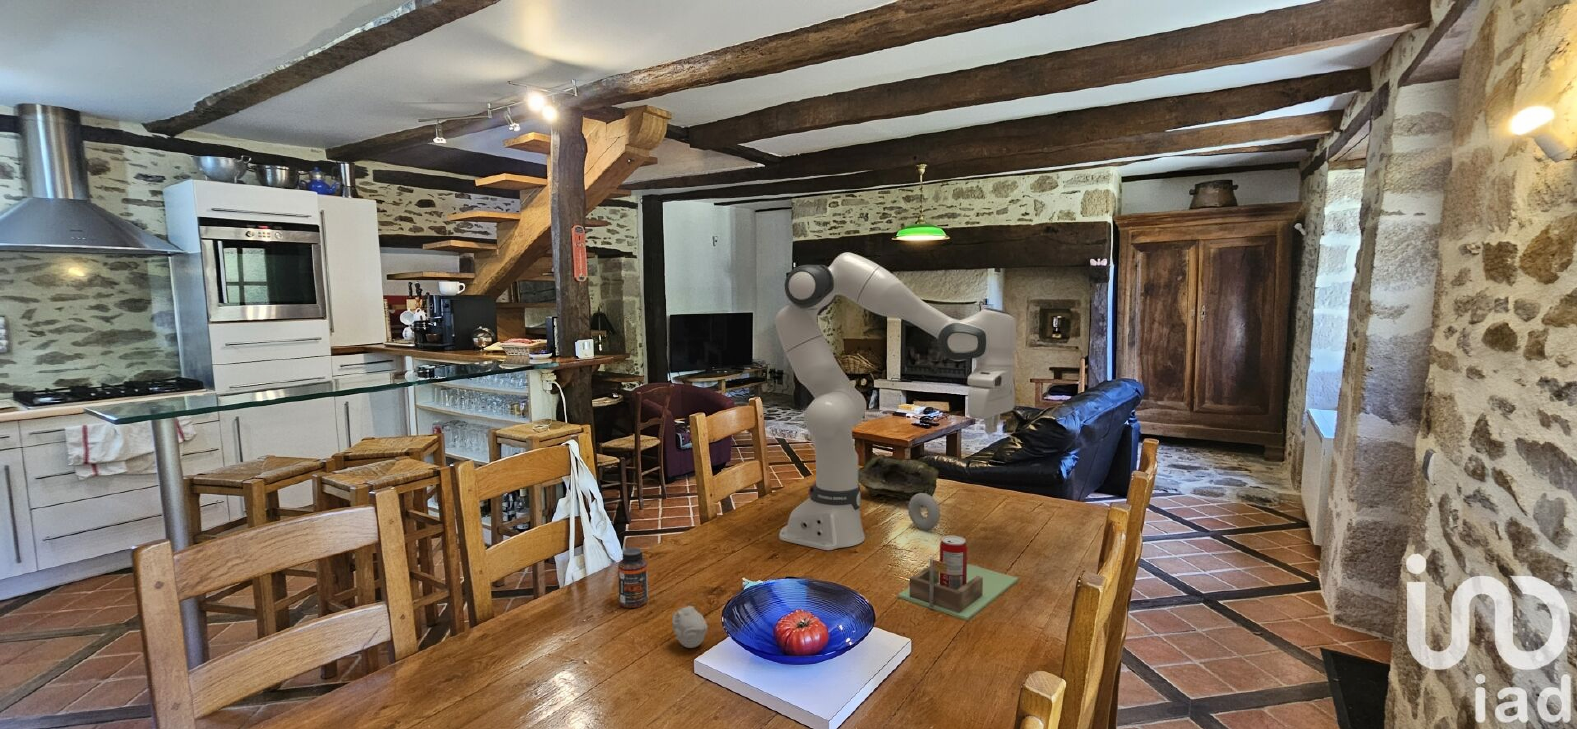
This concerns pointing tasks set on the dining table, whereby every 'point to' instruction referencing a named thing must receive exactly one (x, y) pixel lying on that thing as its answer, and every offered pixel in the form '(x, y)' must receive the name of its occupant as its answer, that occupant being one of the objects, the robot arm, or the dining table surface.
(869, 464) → the hollow geode rock
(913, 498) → the donut
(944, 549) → the soda can
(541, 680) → the dining table surface
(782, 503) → the dining table surface
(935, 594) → the pocket
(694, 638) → the frog figurine
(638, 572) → the supplement bottle
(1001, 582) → the felt mat
